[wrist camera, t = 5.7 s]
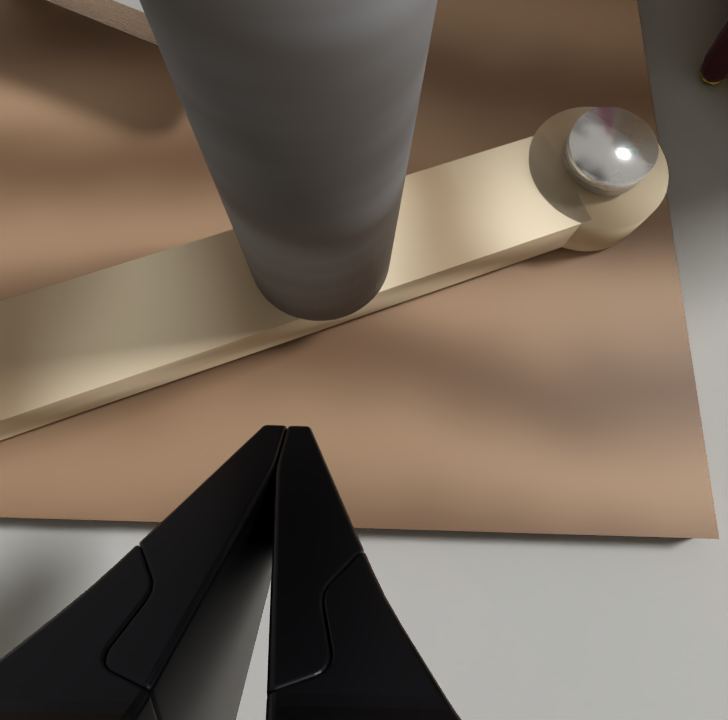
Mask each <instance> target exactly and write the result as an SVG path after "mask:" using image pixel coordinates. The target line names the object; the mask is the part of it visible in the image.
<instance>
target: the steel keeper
mask: <svg viewBox="0 0 728 720" xmlns="http://www.w3.org/2000/svg"><path fill="white" fill-rule="evenodd" d="M46 1H49V2H51V3H54V4H56V5H59V6H61V7H64V8H66V9H69V10H71V11H74V12H76V13H79V14H81V15H83V16H86V17H88V18H91V19H93V20H96V21H98V22H101V23H103V24H106V25H108V26H111V27H113V28H116V29H118V30H121V31H123V32H126V33H128V34H131V35H133V36H136V37H138V38H141V39H143V40H146V41H148V42H151V43H153V44H156V45H157V42H156V40H155V37H154V35H153V32H152V30H151V27H150V25H149V23H148V20H147V18H146V15H145V13H144V10H143V8H142V6H141V3H140V1H139V0H46ZM658 152H659V148H658V142H657V138H656V136H655V134H654V132H653V130H652V129H651V127H650V126H649V125H648V124H647V123H646V122H645V121H644V120H643V119H642V118H640V117H639V116H638V115H636V114H634V113H632V112H630V111H628V110H625V109H622V108H617V107H599V108H595V109H592V110H590V111H588V112H586V113H584V114H583V115H582V116H581V117H580V118H579V119H578V120H577V121H576V123H575V125H574V126H573V128H572V130H571V131H570V133H569V135H568V136H567V138H566V140H565V141H564V143H563V146H562V151H561V158H562V163H563V166H564V168H565V171H566V172H567V174H568V175H569V177H570V178H571V179H572V180H573V181H574V182H575V183H576V184H577V185H579V186H580V187H581V188H583V189H585V190H587V191H589V192H591V193H594V194H598V195H604V196H615V195H620V194H624V193H626V192H628V191H630V190H632V189H633V188H634V187H635V186H636V185H637V184H638V183H639V182H640V181H641V180H642V179H643V178H644V176H645V175H646V174H647V173H648V172H649V171H650V170H651V169H652V168H653V166H654V165H655V163H656V161H657V158H658Z"/></svg>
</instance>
